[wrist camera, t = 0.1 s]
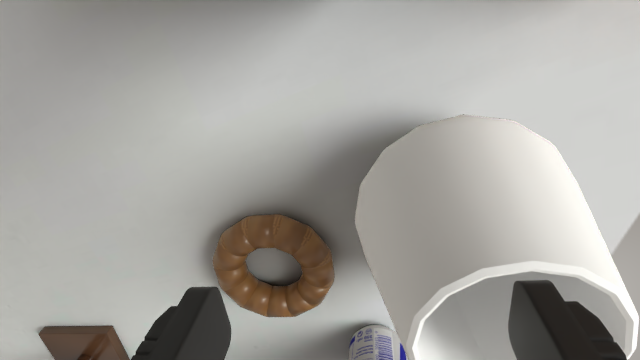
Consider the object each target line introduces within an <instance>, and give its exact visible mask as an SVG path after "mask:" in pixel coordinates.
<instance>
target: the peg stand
mask: <svg viewBox="0 0 640 360" xmlns="http://www.w3.org/2000/svg"><path fill="white" fill-rule="evenodd" d="M39 336H40V338H41V339H42V341H43V342H44V344H45V345H46V347H47V348H48V350H49V351H50V353H51V354H52V356H53V357H54V359H55V360H130V359H129V357H128V355H127V353H126V351H125V349H124V347H123V345H122V344H121V342H120V340H119V338H118V336H117V334H116V332H115V330H114V328H113V326H60V327H44V328H43V329H42V330H41V332H40V333H39Z"/></svg>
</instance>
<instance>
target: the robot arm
mask: <svg viewBox="0 0 640 360" xmlns="http://www.w3.org/2000/svg"><path fill="white" fill-rule="evenodd" d="M508 332H509V338H510V343H511V346H512V349H513V351H514V354H515V356H516V358H517V360H627V358H626V355H625V353H624V352H623V350H622V349H621V348H620V346H619V345H618V344H617V342H614V340H613V337H612V335H611V334H610V333H609V331H608V330H607V329H606V327H605V326H604V325H603V323H602V322H601V320H600V319H599V318H598V317H597V316H595V315H594V314H593V313H592V312H590V311H589V310H588V309H586V308H585V307H584V306H583V305H581V304H580V303H579V302H577V301H564V299H563V298H562V296H561V295H560V293H559V292H558V290H557V289H556V287H555V286H554V284H553V283H552V282H551V281H549V280H522V281H515V283H514V286H513V292H512V299H511V306H510V313H509V320H508ZM230 340H231V325H230V322H229V318H228V315H227V312H226V309H225V306H224V303H223V300H222V297H221V294H220V291H219V289H218V288H217V287H191V288H189V289H188V290H187V291H186V292H185V294H184V296H183V297H182V299H181V301H180V303H179V304H178V306H171V307H170V308H169V309H168V310H167V311H166V312H164V313H163V314H162V315H161V316H160V317H159V318H158V319H157V320H156V321H155V322H154V324H153V325H152V327H151V328H150V330H149V332H148V333H147V335H146V336H145V340H144V341H142V343H141V344H140V346H139V347H138V349H137V351H136V355H135V356H133V357H132V359H131V360H224V359H225V356H226V354H227V351H228V348H229V345H230Z"/></svg>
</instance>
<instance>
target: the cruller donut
mask: <svg viewBox="0 0 640 360" xmlns="http://www.w3.org/2000/svg"><path fill="white" fill-rule="evenodd" d="M257 248H276V249H278V250H281V251H283V252H286V253H288V254H291V255H292V256H293V257H294V258H295V259H296V260H297V262H298V263H299V264H300V265H301V269H302V275H301V277H300V279H299V280H298V281H296V282H295V283H293V284H291V285H289V286H272V285H270V284H267V283H264V282H262V281H259V280H257V279H256V278H255V277H254V276H253V275H252V274H251V273H250V272H249V271H248V269H247V265H246V261H245V260H246V258H247V256H248V254H249V253H251V252H252V251H254V250H256V249H257ZM213 267H214V270H215V273H216V276H217V279H218V282H219V285H220V287H221V289H222V290H223V291H224V292H225V293H226V294H227V295H228V296H229V297H231V298H232V299H233V300H234V301H235V302H236V303H237V304H238V305H239V306H240V307H242V308H245V309H247V310H250V311H252V312H255V313H258V314H260V315H263V316H266V317H295V316H298V315H300V314H302V313H304V312H306V311H308V310H310V309H312V308H314V307H316V306H318V305H319V304H320V303H321V302H322V301H323V299H324V297H325V296H326V294H327V292H328V291H329V289H330V287H331V286H332V284H333V282H334V268H333V261H332V254H331V251H330V249H329V247H328V246H327V245H326V244H325V243H324V241H323V240H322V239H321V238H320V237H319V236H318V235H317V233H316V232H315V231H314V230H313V229H312V228H311V227H310V226H308V225H306V224H303V223H301V222H298V221H296V220H293V219H291V218H289V217H286V216H284V215H280V214H273V215H254V216H248V217H246V218H244V219H242V220H241V221H239V222H238V223H236V224H235V225H233V226H231V227H230V228H228V229H227V230H226V231H224V232H223V233H222V235H221V237H220V239H219V242H218V244H217V247H216V250H215V253H214V256H213Z"/></svg>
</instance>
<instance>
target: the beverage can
mask: <svg viewBox="0 0 640 360" xmlns="http://www.w3.org/2000/svg"><path fill="white" fill-rule="evenodd" d="M349 360H406V354H405V350H404V348H403V346H402V343H401V341H400V339H399V336H398V334H397V333H396V332H395V331H393V330H391V329H390V328H388V327H386V326H382V325H369V326H366V327H364V328H362V329H360V330H359V331H357V332H356V333H355V334H354V335H353V336H352V338H351V340H350V346H349Z"/></svg>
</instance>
